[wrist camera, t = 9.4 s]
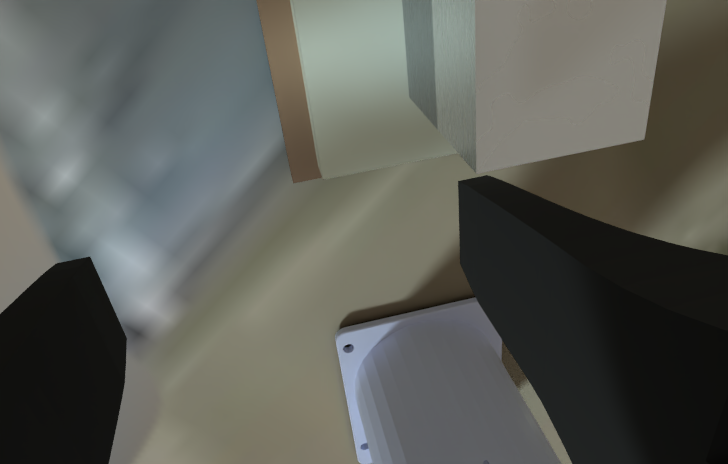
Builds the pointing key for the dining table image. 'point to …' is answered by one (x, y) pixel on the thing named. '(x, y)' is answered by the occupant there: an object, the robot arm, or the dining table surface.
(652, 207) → the dining table surface
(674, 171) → the dining table surface
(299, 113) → the stand
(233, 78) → the dining table surface
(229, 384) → the dining table surface
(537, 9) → the housing
